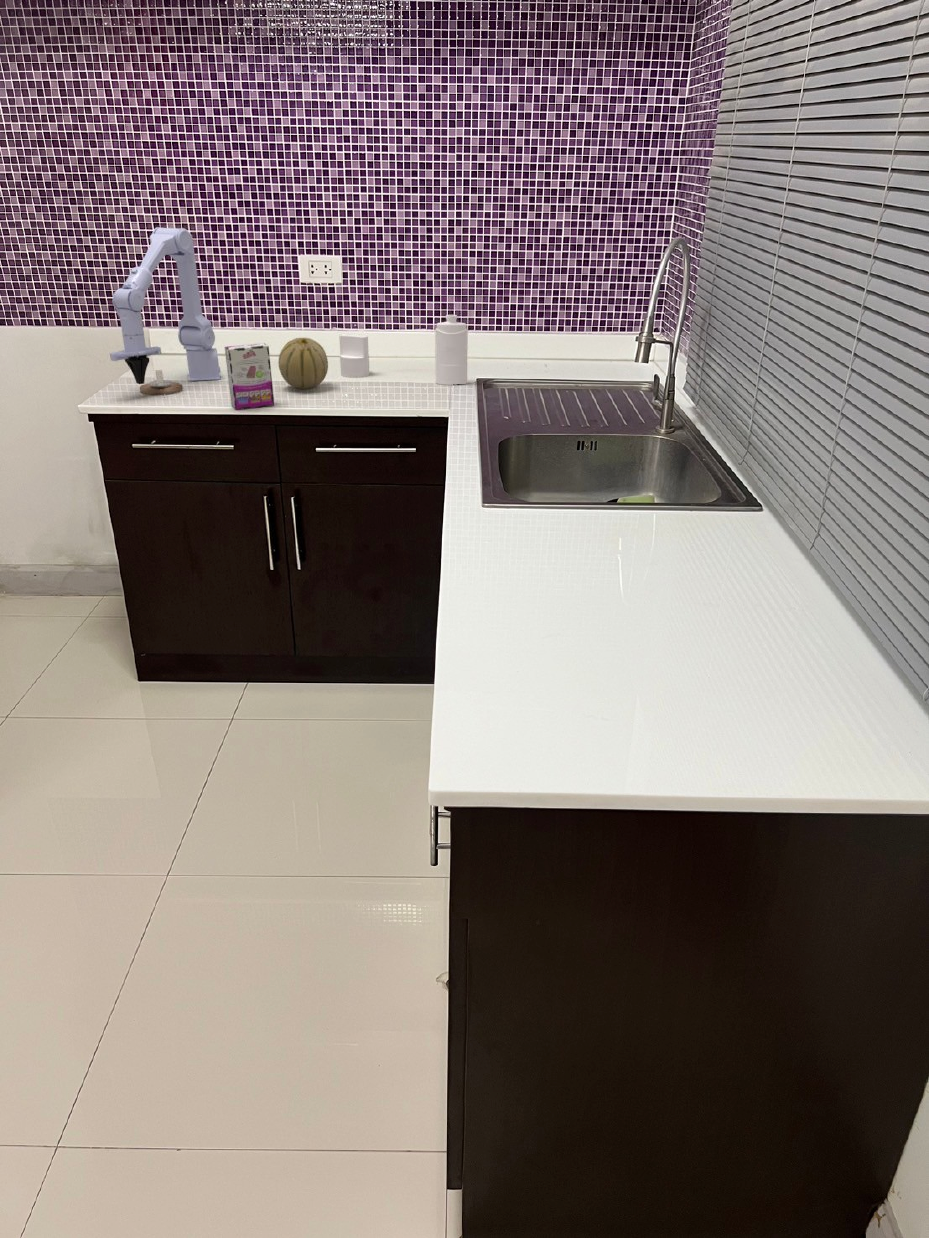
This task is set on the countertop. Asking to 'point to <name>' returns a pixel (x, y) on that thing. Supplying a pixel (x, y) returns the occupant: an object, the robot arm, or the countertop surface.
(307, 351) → the cantaloupe
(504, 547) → the countertop surface
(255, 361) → the candy bar box
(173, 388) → the base
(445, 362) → the squeeze bottle
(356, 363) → the cylinder with rectangular tab
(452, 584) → the countertop surface
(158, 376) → the dial
